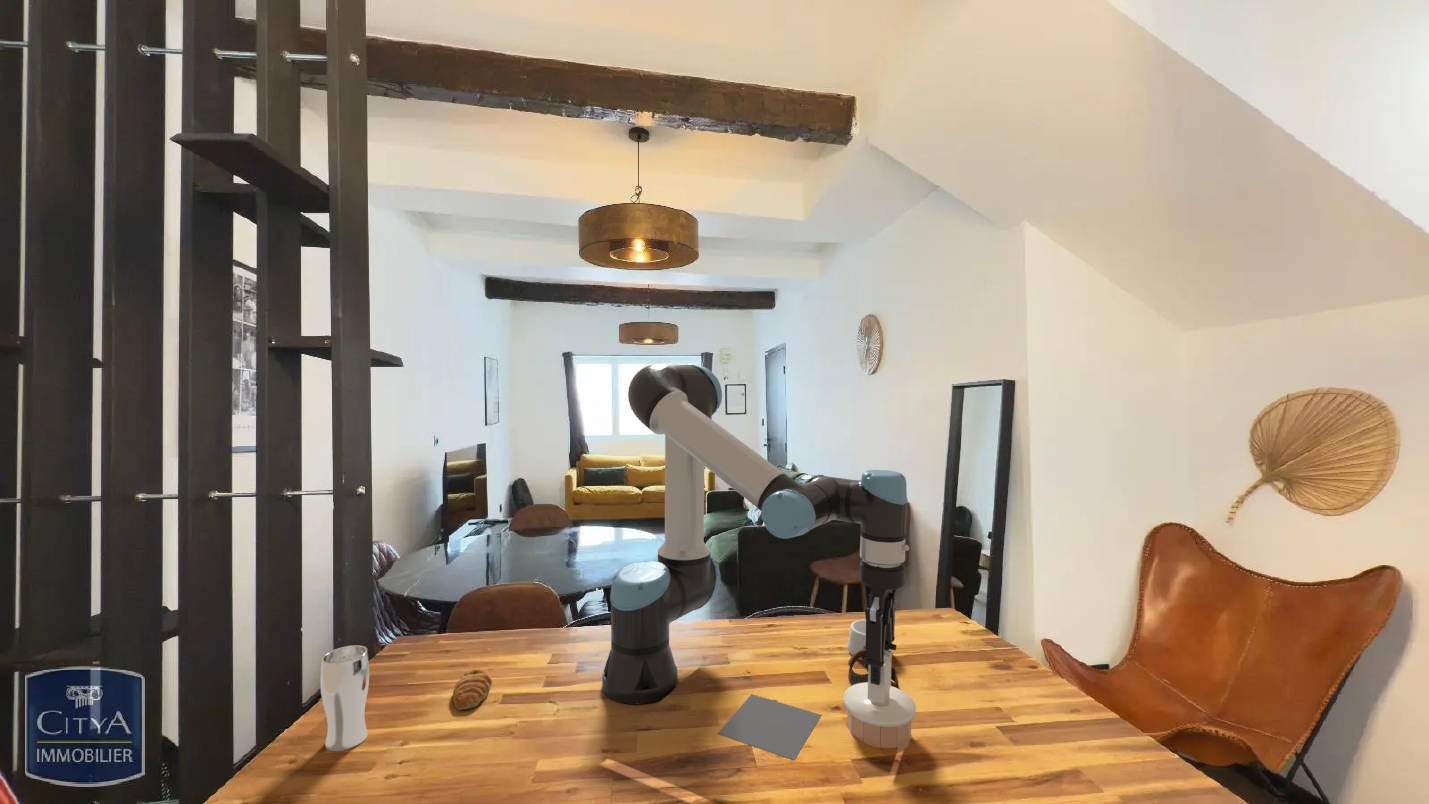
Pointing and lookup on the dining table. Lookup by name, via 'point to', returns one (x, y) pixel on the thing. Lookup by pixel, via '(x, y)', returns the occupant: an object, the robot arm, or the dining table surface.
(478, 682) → the pastry
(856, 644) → the mug
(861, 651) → the broken pottery
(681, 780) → the dining table surface
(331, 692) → the beer glass
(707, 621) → the dining table surface
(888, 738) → the bowl
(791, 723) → the mat
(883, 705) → the lid
